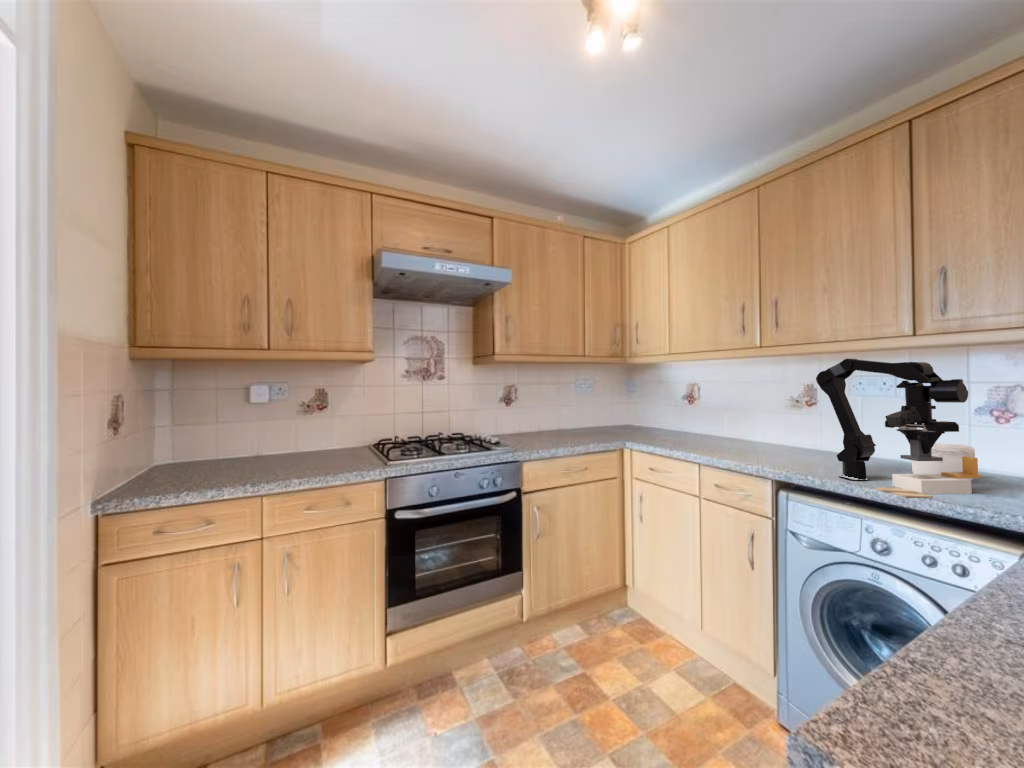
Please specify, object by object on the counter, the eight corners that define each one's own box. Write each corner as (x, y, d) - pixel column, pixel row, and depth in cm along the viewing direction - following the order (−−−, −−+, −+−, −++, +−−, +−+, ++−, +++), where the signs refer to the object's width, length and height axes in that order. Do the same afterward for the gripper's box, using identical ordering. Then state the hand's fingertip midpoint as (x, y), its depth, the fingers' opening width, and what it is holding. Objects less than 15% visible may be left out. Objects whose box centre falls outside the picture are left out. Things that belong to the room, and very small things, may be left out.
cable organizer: (979, 480, 140) (978, 445, 140) (974, 484, 134) (972, 448, 134) (918, 473, 152) (917, 441, 153) (911, 477, 146) (909, 444, 147)
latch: (941, 474, 130) (940, 456, 130) (964, 474, 129) (963, 456, 129) (957, 478, 125) (956, 458, 125) (981, 477, 124) (980, 458, 124)
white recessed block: (892, 486, 133) (892, 474, 133) (938, 486, 132) (938, 473, 132) (921, 494, 123) (921, 480, 123) (971, 493, 122) (971, 480, 122)
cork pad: (875, 489, 130) (875, 487, 130) (899, 489, 129) (899, 487, 129) (907, 497, 119) (906, 496, 119) (932, 497, 118) (932, 496, 118)
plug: (900, 458, 131) (899, 434, 131) (923, 457, 130) (922, 434, 131) (918, 461, 125) (916, 436, 125) (942, 460, 124) (941, 436, 125)
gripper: (867, 402, 138) (869, 449, 137) (918, 403, 119) (921, 457, 119) (902, 401, 137) (904, 449, 137) (959, 402, 119) (962, 457, 118)
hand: (920, 453), depth 128 cm, fingers closed on plug, 3 cm apart
